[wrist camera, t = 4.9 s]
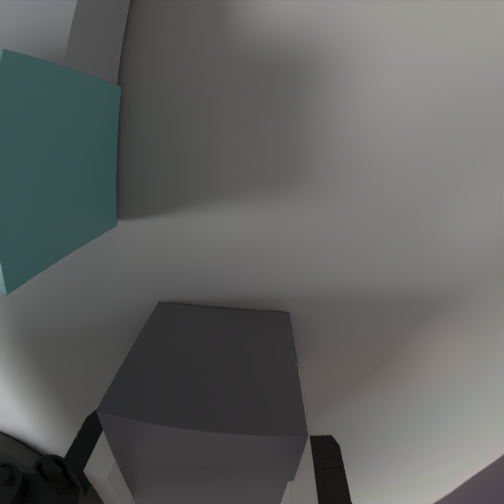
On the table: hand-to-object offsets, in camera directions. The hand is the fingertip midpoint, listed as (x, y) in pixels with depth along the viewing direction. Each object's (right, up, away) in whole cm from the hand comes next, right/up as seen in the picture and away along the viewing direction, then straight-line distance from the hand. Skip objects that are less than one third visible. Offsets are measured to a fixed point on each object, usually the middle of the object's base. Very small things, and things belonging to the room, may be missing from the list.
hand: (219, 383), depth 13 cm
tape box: (0, 0, 0) cm, 0 cm away
